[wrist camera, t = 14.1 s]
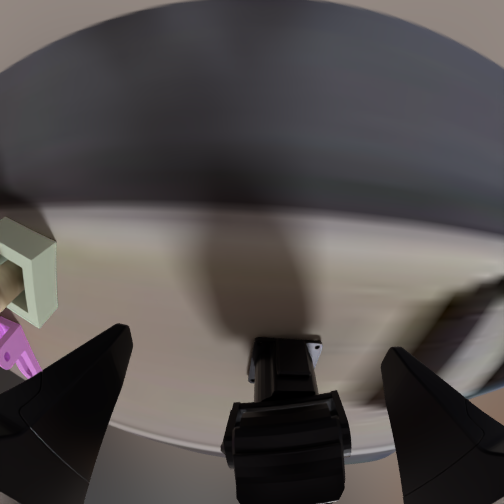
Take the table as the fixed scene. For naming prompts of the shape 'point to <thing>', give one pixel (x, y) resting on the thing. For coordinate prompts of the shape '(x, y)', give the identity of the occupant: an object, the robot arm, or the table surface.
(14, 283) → the beige cylinder
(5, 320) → the bracket
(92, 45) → the table surface
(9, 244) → the square frame
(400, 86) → the table surface
